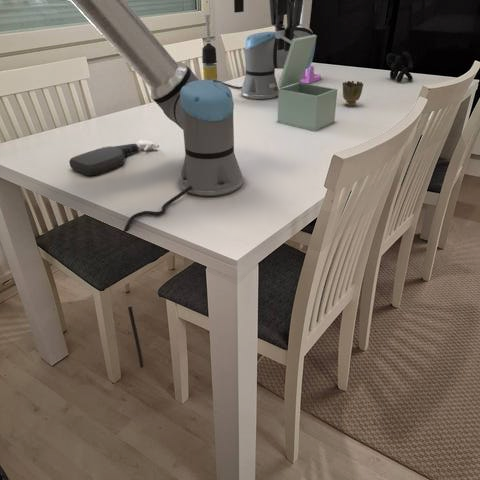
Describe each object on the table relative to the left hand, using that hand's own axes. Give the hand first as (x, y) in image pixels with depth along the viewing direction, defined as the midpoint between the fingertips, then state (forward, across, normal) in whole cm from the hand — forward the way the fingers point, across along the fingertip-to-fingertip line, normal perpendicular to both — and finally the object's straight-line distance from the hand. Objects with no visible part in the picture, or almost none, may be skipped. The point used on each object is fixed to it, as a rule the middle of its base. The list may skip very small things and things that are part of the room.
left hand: (259, 13), depth 109 cm
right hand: (+14, +16, -32) cm, 38 cm away
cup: (+36, +4, -59) cm, 69 cm away
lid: (+17, +10, -32) cm, 38 cm away
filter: (+36, +53, -34) cm, 72 cm away
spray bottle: (+36, +27, +29) cm, 54 cm away
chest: (+36, +6, -32) cm, 48 cm away
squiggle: (+36, +8, -109) cm, 115 cm away
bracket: (+36, +39, -85) cm, 100 cm away
